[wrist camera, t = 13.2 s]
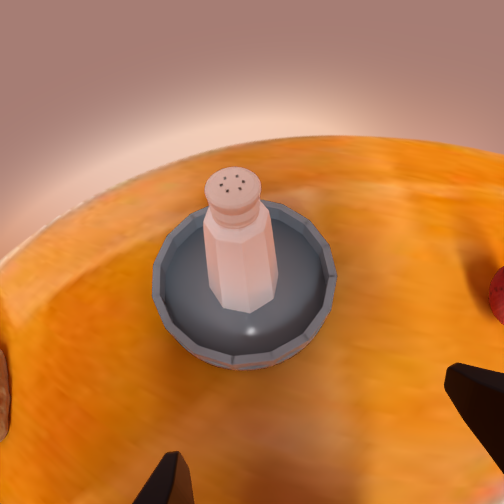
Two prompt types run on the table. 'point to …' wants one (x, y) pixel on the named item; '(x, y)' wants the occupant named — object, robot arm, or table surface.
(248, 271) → the pepper shaker
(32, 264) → the table surface
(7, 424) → the pastry
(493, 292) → the onion
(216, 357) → the dish
